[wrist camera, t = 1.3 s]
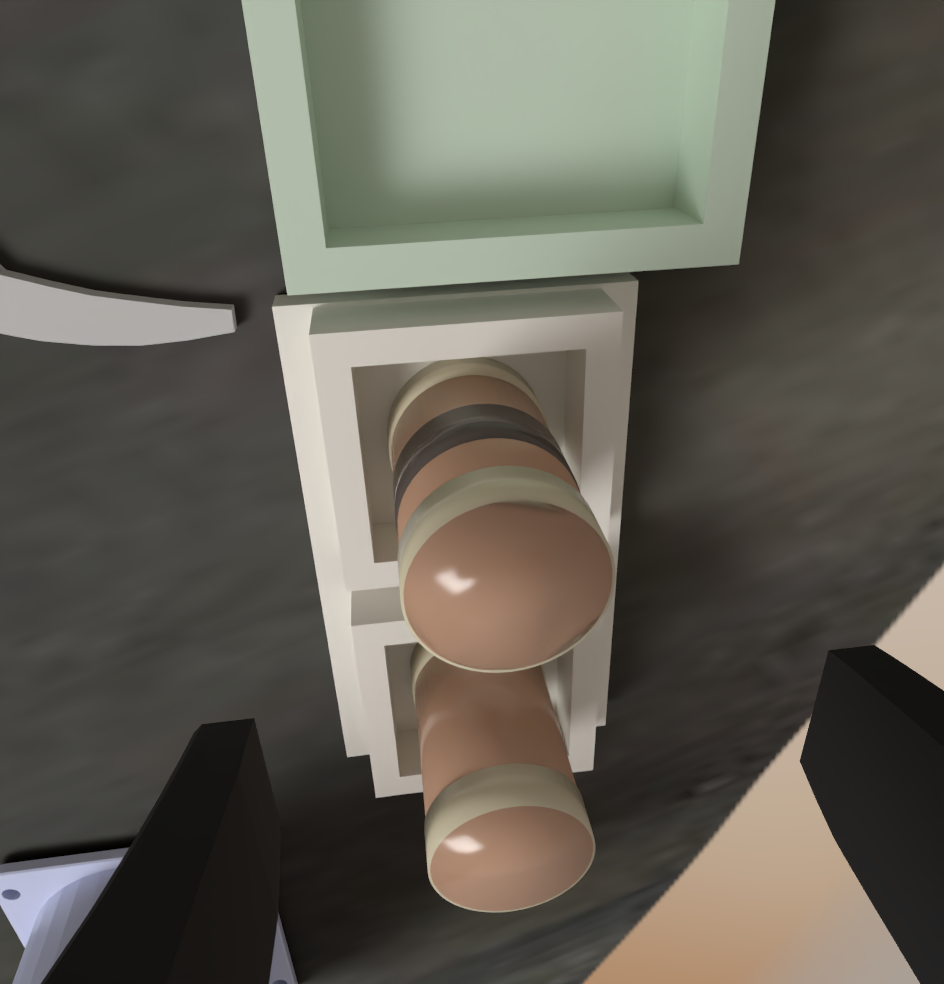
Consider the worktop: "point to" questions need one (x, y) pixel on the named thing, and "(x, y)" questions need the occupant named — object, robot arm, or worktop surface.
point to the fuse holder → (369, 477)
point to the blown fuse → (490, 522)
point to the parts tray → (505, 136)
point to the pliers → (102, 314)
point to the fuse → (496, 788)
